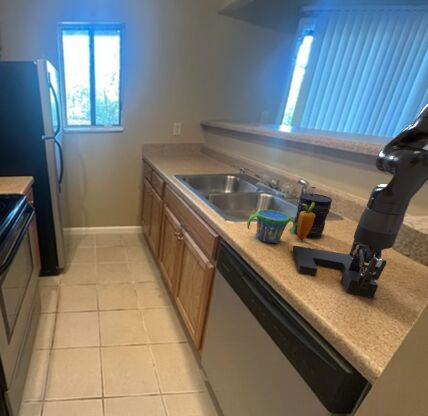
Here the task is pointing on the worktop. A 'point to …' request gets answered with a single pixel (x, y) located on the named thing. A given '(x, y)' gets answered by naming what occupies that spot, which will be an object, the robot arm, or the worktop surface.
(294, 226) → the snack cup
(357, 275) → the small block
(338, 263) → the base pad
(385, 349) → the worktop surface
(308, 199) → the dark blue oil drum
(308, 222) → the carrot
